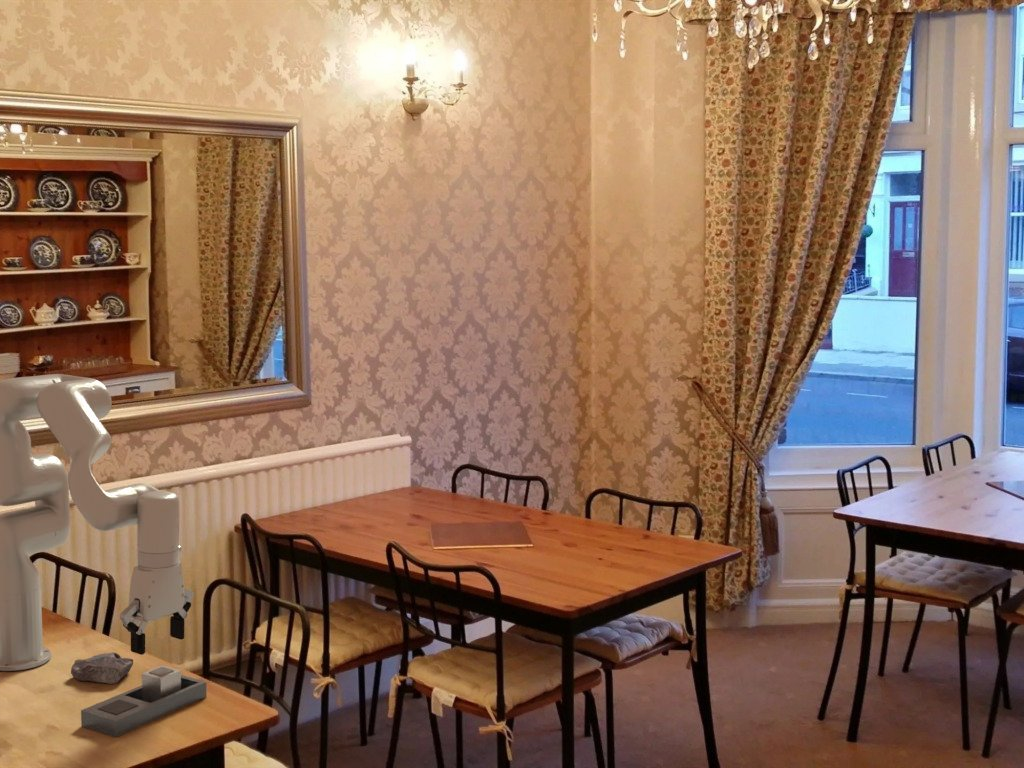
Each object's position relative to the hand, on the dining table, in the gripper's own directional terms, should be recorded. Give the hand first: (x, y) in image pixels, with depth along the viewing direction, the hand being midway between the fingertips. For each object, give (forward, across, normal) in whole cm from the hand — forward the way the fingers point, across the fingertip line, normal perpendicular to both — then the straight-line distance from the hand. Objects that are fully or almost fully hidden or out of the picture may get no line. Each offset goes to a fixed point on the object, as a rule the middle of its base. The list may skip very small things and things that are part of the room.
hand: (157, 645), depth 221 cm
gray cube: (+11, 0, +1) cm, 11 cm away
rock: (+13, -4, -19) cm, 23 cm away
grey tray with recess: (+11, +4, +1) cm, 12 cm away
